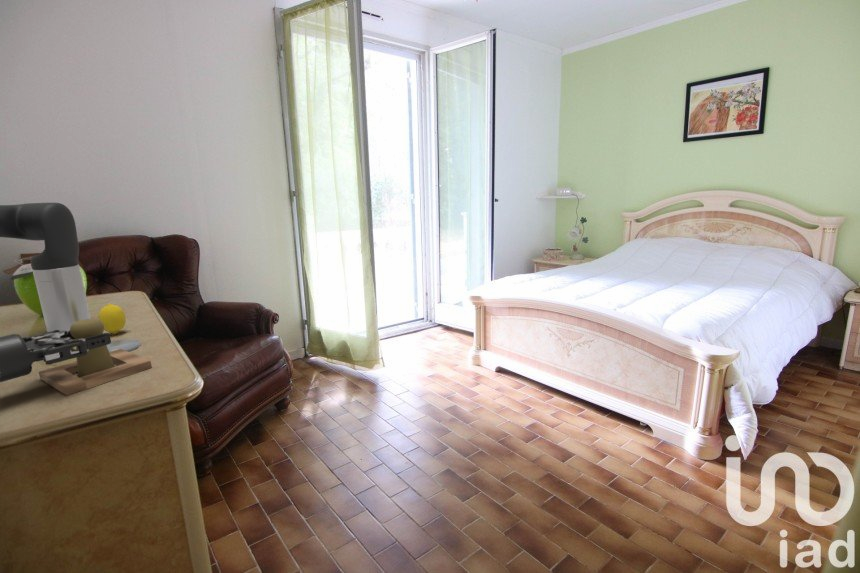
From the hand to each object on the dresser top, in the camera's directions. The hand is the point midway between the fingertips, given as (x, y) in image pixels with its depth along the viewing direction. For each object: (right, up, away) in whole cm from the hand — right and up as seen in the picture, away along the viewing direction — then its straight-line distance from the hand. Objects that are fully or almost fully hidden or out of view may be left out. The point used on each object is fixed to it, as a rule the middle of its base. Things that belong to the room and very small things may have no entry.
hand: (100, 334), depth 86 cm
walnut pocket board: (-1, -8, 0) cm, 8 cm away
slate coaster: (-7, -5, +14) cm, 16 cm away
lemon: (-15, -3, +25) cm, 29 cm away
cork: (-1, -8, 0) cm, 8 cm away
